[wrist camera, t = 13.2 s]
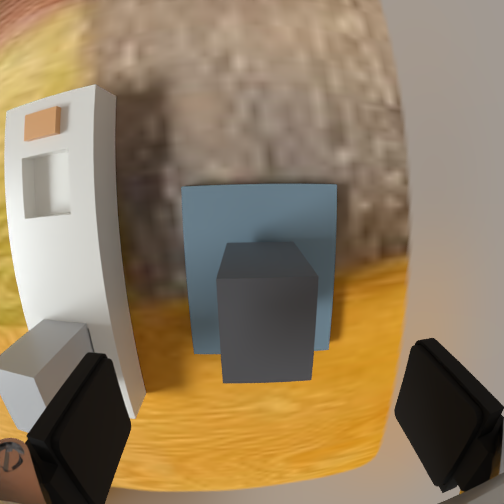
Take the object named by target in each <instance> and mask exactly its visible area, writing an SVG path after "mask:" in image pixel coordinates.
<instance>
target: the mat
mask: <svg viewBox="0 0 504 504" xmlns="http://www.w3.org/2000/svg"><path fill="white" fill-rule="evenodd" d="M181 191H182V214H183V233H184V249H185V264H186V277H187V289H188V300H189V310H190V321H191V330H192V339H193V348H194V354H221V350H220V335H219V320H218V303H217V285H216V278H217V274H218V271H219V268H220V264H221V261H222V258H223V254H224V251H225V248H226V244H227V243H240V242H294V243H295V244H296V246H297V247H298V249H299V250H300V251H301V253H302V254H303V255H304V257H305V258H306V260H307V261H308V262H309V264H310V265H311V266H312V268H313V269H314V271H315V272H316V273H317V275H318V276H319V279H318V298H317V315H316V330H315V343H314V351H318V350H329V340H330V329H331V317H332V304H333V290H334V273H335V252H336V220H337V184H231V185H204V186H184V187H181Z"/></svg>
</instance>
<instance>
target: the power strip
mask: <svg viewBox="0 0 504 504" xmlns="http://www.w3.org/2000/svg"><path fill="white" fill-rule="evenodd" d="M115 123H116V96H115V95H113V94H112V93H110V92H108V91H106V90H105V89H103V88H101V87H99V86H98V85H96V84H95V85H90V86H86V87H82V88H78V89H74V90H70V91H67V92H63V93H60V94H56V95H53V96H49V97H46V98H43V99H40V100H37V101H33V102H30V103H28V104H25V105H22V106H19V107H16V108H13V109H11V110H8V111H7V113H6V127H5V194H6V209H7V220H8V229H9V237H10V245H11V252H12V258H13V264H14V270H15V275H16V280H17V285H18V290H19V294H20V299H21V303H22V307H23V311H24V315H25V319H26V323H27V326H28V330H29V331H30V330H31V329H32V328H33V327H34V326H36V325H37V324H38V323H39V322H41V321H42V320H43V319H45V320H55V321H66V322H78V323H86V324H87V328H89V332H90V336H91V340H92V344H93V348H94V352H95V353H104V354H106V355H107V357H108V358H110V359H111V360H112V361H113V365H114V368H115V372H116V376H117V379H118V383H119V386H120V390H121V393H122V396H123V399H124V403H125V406H126V409H127V412H128V415H129V418H133V419H136V416H137V414H138V412H139V409H140V407H141V405H142V402H143V400H144V397H145V395H146V390H145V386H144V382H143V378H142V373H141V369H140V364H139V360H138V355H137V350H136V345H135V340H134V335H133V329H132V324H131V318H130V312H129V306H128V300H127V293H126V286H125V279H124V271H123V263H122V254H121V244H120V234H119V222H118V208H117V190H116V160H115Z"/></svg>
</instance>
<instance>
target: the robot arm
mask: <svg viewBox="0 0 504 504" xmlns="http://www.w3.org/2000/svg"><path fill="white" fill-rule="evenodd" d="M503 409H504V407H503V405H501V403H500V402H499V401H498V400H497V399H496V398H495V397H494V396H493V395H492V394H491V393H490V392H489V391H488V390H487V389H486V388H485V387H484V386H483V385H482V384H481V383H480V382H479V381H478V380H477V379H476V378H475V377H474V376H473V375H472V374H471V373H470V372H469V371H468V370H467V369H466V368H465V367H464V366H463V365H462V364H461V363H460V362H459V361H457V359H456V358H455V357H454V356H452V355H451V354H450V353H449V352H448V351H447V350H446V349H445V348H444V347H443V346H442V345H441V344H440V343H439V342H438V341H437V340H435V339H434V338H429V339H423V340H418V341H417V342H416V343H415V345H414V346H412V348H411V351H410V354H409V359H408V363H407V367H406V371H405V374H404V378H403V382H402V385H401V389H400V392H399V396H398V399H397V403H396V406H395V416H396V419H397V420H398V422H399V424H400V426H401V427H402V429H403V431H404V432H405V434H406V436H407V438H408V439H409V441H410V443H411V445H412V446H413V448H414V450H415V452H416V453H417V455H418V457H419V459H420V460H421V462H422V464H423V466H424V468H425V469H426V471H427V473H428V475H429V477H430V478H431V480H432V482H433V484H434V485H435V486H439V487H440V489H441V491H442V493H444V492H446V491H448V490H451V489H453V488H455V487H457V485H458V486H459V487H460V493H459V495H457V496H455V497H453V498H450V499H448V500H446V501H443V502H441V503H439V504H504V417H503V416H502V415H501V413H502V411H503ZM130 431H131V421H130V418H129V415H128V412H127V409H126V406H125V403H124V399H123V396H122V393H121V390H120V386H119V383H118V379H117V376H116V372H115V368H114V365H113V361H112V360H111V359H110V358H108V357H107V355H106V354H104V353H93V352H88V353H86V354H85V356H84V357H83V358H82V360H81V361H80V362H79V364H78V365H77V366H76V368H75V369H74V370H73V372H72V373H71V374H70V376H69V377H68V378H67V380H66V381H65V382H64V384H63V385H62V386H61V388H60V389H59V390H58V392H57V393H56V394H55V396H54V397H53V399H52V400H51V401H50V403H49V404H48V406H47V407H46V408H45V410H44V411H43V413H42V414H41V416H40V417H39V418H38V420H37V421H36V423H35V424H34V426H33V427H32V429H31V430H30V431H29V433H28V434H27V438H28V440H27V441H26V443H24V442H23V441H21V440H18V439H15V438H5V439H2V440H0V504H105V501H106V498H107V495H108V492H109V489H110V487H111V484H112V481H113V478H114V475H115V472H116V469H117V467H118V464H119V461H120V458H121V455H122V453H123V450H124V447H125V444H126V442H127V439H128V436H129V434H130Z"/></svg>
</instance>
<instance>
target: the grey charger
mask: <svg viewBox="0 0 504 504" xmlns="http://www.w3.org/2000/svg"><path fill="white" fill-rule="evenodd" d="M88 352H93V353H95V352H94V348H93V344H92V340H91V336H90V332H89V328H87V324H86V323H78V322H66V321H55V320H45V319H43V320H42V321H41V322H39V323H38V324H37V325H36V326H34V327H33V328H32V329H31V330H30V331H28V332H27V333H26V334H25V335H23V336H22V337H21V338H20V339H19V340H17V341H16V342H15V343H14V344H13V345H11V346H10V347H9V348H8V349H7V350H5V351H4V352H3V353H2V354H1V355H0V395H1V397H2V399H3V401H4V403H5V405H6V407H7V409H8V411H9V413H10V415H11V417H12V419H13V421H14V423H15V425H16V426H17V428H18V429H19V430H22V431H25V432H28V433H29V431H30V430H31V429H32V427H33V426H34V424H35V423H36V421H37V420H38V418H39V417H40V416H41V414H42V413H43V411H44V410H45V408H46V407H47V406H48V404H49V403H50V401H51V400H52V399H53V397H54V396H55V394H56V393H57V392H58V390H59V389H60V388H61V386H62V385H63V384H64V382H65V381H66V380H67V378H68V377H69V376H70V374H71V373H72V372H73V370H74V369H75V368H76V366H77V365H78V364H79V362H80V361H81V360H82V358H83V357H84V356H85V354H86V353H88Z"/></svg>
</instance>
